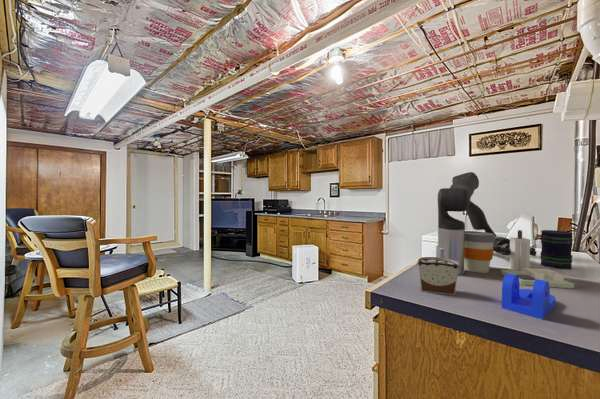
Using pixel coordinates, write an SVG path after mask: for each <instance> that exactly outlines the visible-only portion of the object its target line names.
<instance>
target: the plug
mask: <svg viewBox="0 0 600 399" xmlns="http://www.w3.org/2000/svg"><path fill="white" fill-rule="evenodd" d="M509 239H510V250H511V255H509V265H508V266H509V268H510V270H511V269H512V270H514V271H523V268H530V260H531V258H530V256H531V255H530V247H531V239H529V238H525V237H523V231H522V230H521V229H519V230H517V237H512V236H511V237H509Z"/></svg>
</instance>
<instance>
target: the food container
mask: <svg viewBox="0 0 600 399" xmlns="http://www.w3.org/2000/svg"><path fill="white" fill-rule="evenodd" d="M416 266H418V270H419V272H418V273H419V279H420V280H419V281H420V289H421V292H427V293H433V294H443V295H452V296H455V295H456V288H457V281H458V269H460V270H461V268H460V265H459V263H458V262H457V261H454V260H450V259H446V258H439V257H436V256H424V257H419V258H418V260H417V263H416Z"/></svg>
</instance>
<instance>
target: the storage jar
mask: <svg viewBox="0 0 600 399" xmlns="http://www.w3.org/2000/svg"><path fill="white" fill-rule="evenodd" d="M573 235H574V234H573V232H570V231H565V230H563V231H562V230H552V229H551V230H549V229H543V230H541V236H540V244H541V251H540V254H539V255H540V257H539V258H540V266H542V267H546V268H550V269H558V270H572V269H573V268H572V263H573V254H572V247H573V242H574V239H573Z"/></svg>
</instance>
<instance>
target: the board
mask: <svg viewBox="0 0 600 399" xmlns="http://www.w3.org/2000/svg"><path fill="white" fill-rule="evenodd" d="M500 271H501V272H500V273H501V275H503V276H505V275H506V274H507V273H509V274H514V275H518V277H519V282H520V285H521V286H532V287H533V285H534V282H535V280H536V279H539V280H544V281H548V282H549V286H550V288H560V289H562V288H563V289H572V290H573V289H575V283H572V282H570V281H567V280H566V279H565V278H564V277H565V276H564V274H560V273H558V272H556V271H553V270H552V269H548V268H547V269H546V268H545V269H544V268H530V267H529V268H523V271H514V270H511V269H510V270H509V269H501V270H500Z"/></svg>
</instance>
